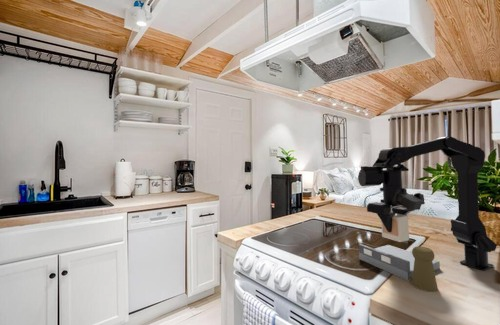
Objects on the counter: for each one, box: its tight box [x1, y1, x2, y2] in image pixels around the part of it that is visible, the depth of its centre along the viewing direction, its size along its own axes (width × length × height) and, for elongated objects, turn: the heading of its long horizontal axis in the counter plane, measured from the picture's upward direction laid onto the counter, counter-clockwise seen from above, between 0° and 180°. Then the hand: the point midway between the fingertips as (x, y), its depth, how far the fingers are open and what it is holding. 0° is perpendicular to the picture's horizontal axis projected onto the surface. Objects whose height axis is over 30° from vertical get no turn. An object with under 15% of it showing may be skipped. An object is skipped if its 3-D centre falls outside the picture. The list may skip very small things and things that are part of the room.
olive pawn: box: [411, 245, 438, 292], centre depth 68 cm, size 6×6×11 cm
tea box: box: [380, 213, 410, 243], centre depth 80 cm, size 6×5×8 cm
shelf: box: [358, 243, 441, 281], centre depth 83 cm, size 16×18×6 cm
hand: (394, 230), depth 80 cm, fingers closed on tea box, 5 cm apart
